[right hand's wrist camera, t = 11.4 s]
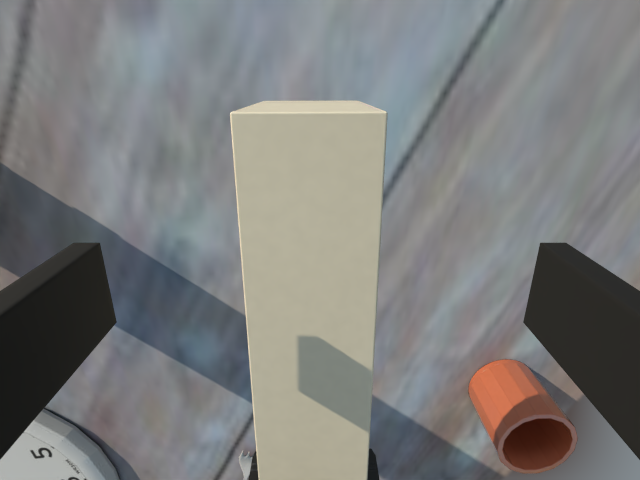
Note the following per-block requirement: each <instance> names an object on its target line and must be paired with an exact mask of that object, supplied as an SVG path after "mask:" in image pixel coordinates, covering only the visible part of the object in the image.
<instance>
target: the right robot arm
mask: <svg viewBox="0 0 640 480" xmlns="http://www.w3.org/2000/svg"><path fill="white" fill-rule="evenodd" d="M115 324H116V317H115V313H114V308H113V303H112V299H111V294H110V289H109V284H108V280H107V275H106V270H105V266H104V261H103V256H102V251H101V247H100V243H73V244H71V245H70V246H68V247H67V248H65V249H64V250H62V251H61V252H59V253H58V254H56V255H55V256H53V257H52V258H50V259H49V260H47V261H46V262H44V263H42V264H41V265H39V266H38V267H36V268H35V269H33V270H32V271H30V272H29V273H27V274H26V275H24V276H23V277H21V278H20V279H18V280H17V281H15V282H13V283H12V284H10V285H9V286H7V287H6V288H4V289H3V290H1V291H0V459H1V458H2V457H3V456H4V455H5V454H6V452H7V451H8V450H9V449H10V448H11V446H12V445H13V444H14V443H15V442H16V441H17V439H18V438H19V437H20V436H21V435H22V433H23V432H24V431H25V430H26V429H27V428H28V426H29V425H30V424H31V423H32V422H33V420H34V419H35V418H36V417H37V416H38V415H39V413H40V412H41V411H42V410H43V409H44V407H45V406H46V405H47V404H48V403H49V402H50V400H51V399H52V398H53V397H54V396H55V394H56V393H57V392H58V391H59V390H60V389H61V387H62V386H63V385H64V384H65V383H66V381H67V380H68V379H69V378H70V377H71V376H72V374H73V373H74V372H75V371H76V370H77V368H78V367H79V366H80V365H81V364H82V363H83V361H84V360H85V359H86V358H87V357H88V355H89V354H90V353H91V352H92V351H93V350H94V348H95V347H96V346H97V345H98V344H99V342H100V341H101V340H102V339H103V338H104V337H105V335H106V334H107V333H108V332H109V331H110V329H111V328H112V327H113V326H114V325H115ZM524 324H525V325H526V326H527V327H528V328H529V329H530V331H531V332H532V333H533V334H534V335H535V337H536V338H537V339H538V340H539V341H540V342H541V344H542V345H543V346H544V347H545V348H546V350H547V351H548V352H549V353H550V354H551V355H552V357H553V358H554V359H555V360H556V361H557V363H558V364H559V365H560V366H561V367H562V368H563V370H564V371H565V372H566V373H567V374H568V376H569V377H570V378H571V379H572V380H573V381H574V383H575V384H576V385H577V386H578V387H579V389H580V390H581V391H582V392H583V393H584V394H585V396H586V397H587V398H588V399H589V400H590V402H591V403H592V404H593V405H594V406H595V407H596V409H597V410H598V411H599V412H600V413H601V415H602V416H603V417H604V418H605V419H606V420H607V422H608V423H609V424H610V425H611V426H612V428H613V429H614V430H615V431H616V432H617V433H618V435H619V436H620V437H621V438H622V439H623V441H624V442H625V443H626V444H627V445H628V446H629V448H630V449H631V450H632V451H633V452H634V454H635V455H636V456H637V457H638V458H639V459H640V291H639V290H637V289H636V288H634V287H633V286H631V285H630V284H628V283H627V282H625V281H623V280H622V279H620V278H619V277H617V276H616V275H614V274H613V273H611V272H610V271H608V270H607V269H605V268H604V267H602V266H601V265H599V264H598V263H596V262H594V261H593V260H591V259H590V258H588V257H587V256H585V255H584V254H582V253H581V252H579V251H578V250H576V249H575V248H573V247H572V246H570V245H569V244H567V243H540V247H539V251H538V256H537V261H536V266H535V270H534V275H533V280H532V284H531V289H530V294H529V299H528V303H527V308H526V313H525V317H524Z"/></svg>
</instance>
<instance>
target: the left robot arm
mask: <svg viewBox="0 0 640 480" xmlns="http://www.w3.org/2000/svg"><path fill="white" fill-rule="evenodd" d="M249 480H259V478H258V465H257V452H255V453H254V455H253V457H252V462H251V468H250V474H249ZM367 480H379V475H378V468H377V462H376V456H375V454H374V453H373V451H372V449H369V458H368V477H367Z"/></svg>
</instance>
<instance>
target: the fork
mask: <svg viewBox="0 0 640 480" xmlns="http://www.w3.org/2000/svg"><path fill="white" fill-rule="evenodd" d="M243 454H244V453H243V451H242V453H241V454H240V456H239V463H240V466H241V468H242V471H243V474H244V480H247V478H248V476H249V474H250V468H251V462H252V457H253V456H252V457H250V456H249V454H250V452H248V454H247V455H246V456H244V455H243Z"/></svg>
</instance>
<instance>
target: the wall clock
mask: <svg viewBox="0 0 640 480" xmlns="http://www.w3.org/2000/svg"><path fill="white" fill-rule="evenodd" d="M0 480H119V477H118V474H117V471H116V469H115V467H114V466H113V465H112V463H111V462H110V461H109V459H108V458H107V456H106V455H105V454H104V452H103V451H102V450H101V448H100V447H99V446H98V445H97V444H96V443H94V442H93V441H92V440H91V439H90V438H89V437H87V436H86V435H85V434H84V433H83V432H82V431H80V430H79V429H78V428H77V427H76V426H74V425H72V424H71V423H69V422H67V421H65V420H63V419H62V418H60V417H58V416H56V415H54V414H53V413H51V412H49V411H47V410H45V409H43V410H42V411H41V412H40V413H39V415H38V416H37V417H36V418H35V419H34V420H33V422H32V423H31V424H30V425H29V426H28V428H27V429H26V430H25V431H24V432H23V433H22V435H21V436H20V437H19V438H18V439H17V441H16V442H15V443H14V444H13V445H12V446H11V448H10V449H9V450H8V451H7V452H6V454H5V455H4V456H3V457H2V458H1V459H0Z"/></svg>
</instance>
